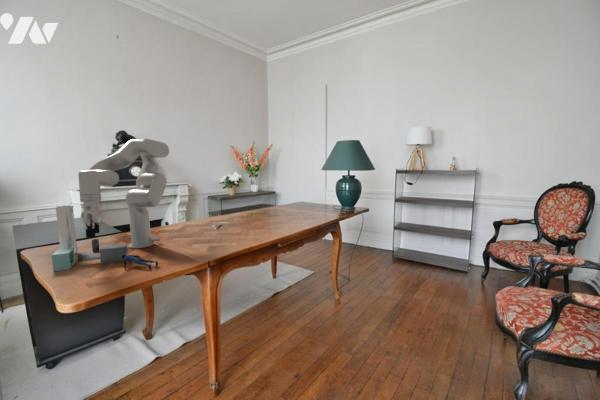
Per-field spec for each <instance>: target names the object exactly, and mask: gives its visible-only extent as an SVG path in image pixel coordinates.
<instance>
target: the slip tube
mask: <svg viewBox="0 0 600 400" xmlns="http://www.w3.org/2000/svg"><path fill="white" fill-rule="evenodd" d="M99 241H100V240H99V238H93V239H92V238H91V249H92V251H87V252H77V262H78V263H83V262H91V261H99V260H100V261H101V257H100V242H99Z"/></svg>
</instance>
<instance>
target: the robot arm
mask: <svg viewBox="0 0 600 400" xmlns="http://www.w3.org/2000/svg"><path fill="white" fill-rule="evenodd" d="M169 154H170V148H169V146H168V145H167V144H166V143H165V142H162V141H158V140H155V139H154V140H153V139H149V138H132V139H131V138H130V140H128V141H127V142H125V144H123V145H122V146H121V147H120V148H119V149H118V150H117V151H116V152H115V153H113V154H111V155H109V156H107V157H105V158H103V159H101V160H99V161H97V162H95V163H94V164H93V165H92V166H90V168H89V169H88V170H80V171H79V172H78V176H77V177H78V188H79V202H80V203H83V204H82V205H83V206H82V208H83V223H84V224H85V236H86V237H85V238H86V239H92V238H93V239H95V238H96V234H99V233H100V222H101V221H102V214H101V212H102V211H101V206H100V205H101V204H100V202H101V201H102V194H101V187H111V186H115V185H117V184H118V183H119V181H120V176H119V173H117V172H115V171H117V170H123V169H125V168H128V167H129V166H131V165H133V163H134V162H135V161H136V160H137V159H138V158H139V157H140V158H141V161H142V165H141V168H140V170H139V172H138V175H137V178H136V180H135V186H136V187H137V189H136V188H134V189H130V190H128V191H127V193H126V194H125V202H126V205H127V206H126V207H127V209H128V214H129V215H128V216H129V229H130V230H129V231H130V243H128V244H127V248H129V249H144V248H148V247H152V246H153V245H154V244H155V242H159V241H160V237H158V236H156V237H152V234H151V225H150V224H151V223H150V213H149V210H148V208H154V207H157V206H158V205H159V204H160V202H161V200H162V197H163V195H164V193H165V190H166V187H167V178H166V176H165V174H163V173H160V172H159V168H160V167H159V164H158V163H157V160H156V158H160V159H161V158H162V159H163V158H166V157H168V156H169ZM138 188H139V189H138Z"/></svg>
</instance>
